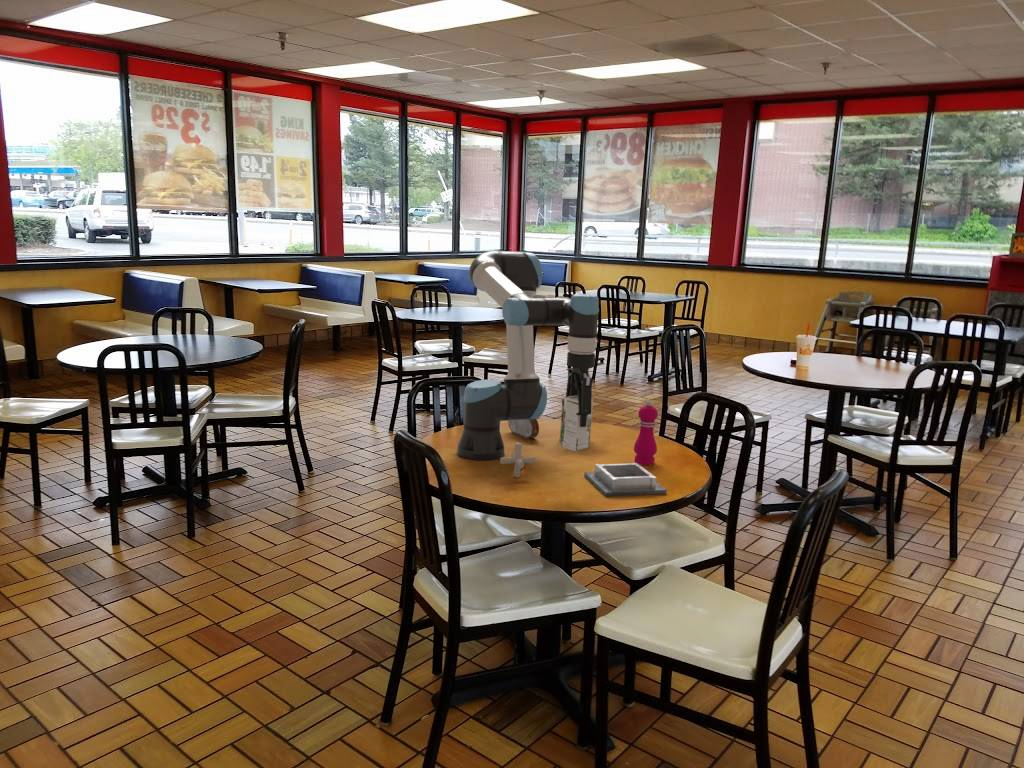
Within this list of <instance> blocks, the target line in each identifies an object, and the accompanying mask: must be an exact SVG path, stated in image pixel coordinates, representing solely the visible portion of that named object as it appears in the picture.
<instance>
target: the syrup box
mask: <svg viewBox="0 0 1024 768" xmlns="http://www.w3.org/2000/svg"><path fill="white" fill-rule="evenodd" d="M563 399H564V411H563V424H562V437H561V440H560V447H561V448H564V449H566V450H570V451H573V452H578V451H583V450H587V449H589V448H590V440H591V431H592V430H591V429H592V428H591V427H592V419H593V418H592V417H593V406H594V405H593V404H594V399H593V398H592V400H591V414H589V415H588V417H587V432H586V438H576V426H577V415H576V413H579V408H578V395H575V396H569V397H566V396H565V397H564V398H563Z"/></svg>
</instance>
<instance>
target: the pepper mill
mask: <svg viewBox="0 0 1024 768" xmlns="http://www.w3.org/2000/svg"><path fill="white" fill-rule="evenodd" d="M658 414H659V413H658V409H657V408H656V407H654V406H653V403H652V401H651V400H647V401H646V402H645V405H642V406H641V407H640V408H639V410H638V414H637V415H638V418H639V419H640V420H639V421H638V422H639V424H638V425H639V426H640V430H639V434H638V436H637V438H636V441H635V442H634V445H633V451H634V453H635V454H636V455H634V463H635V462H636V463H638V464H639V465H641V464H642V465H641V466H651V465H650V464H652V465H654V464H655V462H656V461H655V459H656V458H655V455H656V454H657V452H658V447H657V443H656V439H655V435H654V429H655V426H656V420H657V418H658V416H659V415H658Z"/></svg>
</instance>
